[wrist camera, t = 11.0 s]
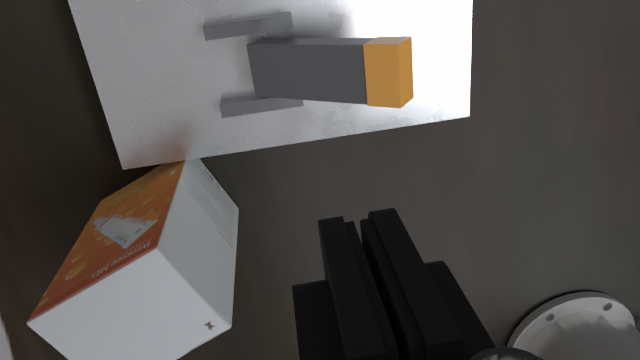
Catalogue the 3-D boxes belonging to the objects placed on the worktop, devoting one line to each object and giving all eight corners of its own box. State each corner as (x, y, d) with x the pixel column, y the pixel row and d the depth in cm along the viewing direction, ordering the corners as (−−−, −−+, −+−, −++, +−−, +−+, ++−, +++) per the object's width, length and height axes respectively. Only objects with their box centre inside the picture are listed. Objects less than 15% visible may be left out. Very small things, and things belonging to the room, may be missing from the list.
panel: (454, -161, 28) (485, -177, 25) (453, 103, 36) (476, 122, 32) (50, -114, 27) (18, -123, 23) (133, 151, 34) (118, 177, 30)
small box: (189, 143, 34) (157, 245, 23) (240, 209, 37) (235, 330, 26) (97, 200, 35) (20, 325, 24) (153, 260, 38) (110, 399, 27)
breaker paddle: (263, 37, 28) (411, 36, 24) (272, 88, 30) (413, 97, 25) (245, 43, 27) (398, 44, 23) (255, 97, 29) (400, 108, 24)
